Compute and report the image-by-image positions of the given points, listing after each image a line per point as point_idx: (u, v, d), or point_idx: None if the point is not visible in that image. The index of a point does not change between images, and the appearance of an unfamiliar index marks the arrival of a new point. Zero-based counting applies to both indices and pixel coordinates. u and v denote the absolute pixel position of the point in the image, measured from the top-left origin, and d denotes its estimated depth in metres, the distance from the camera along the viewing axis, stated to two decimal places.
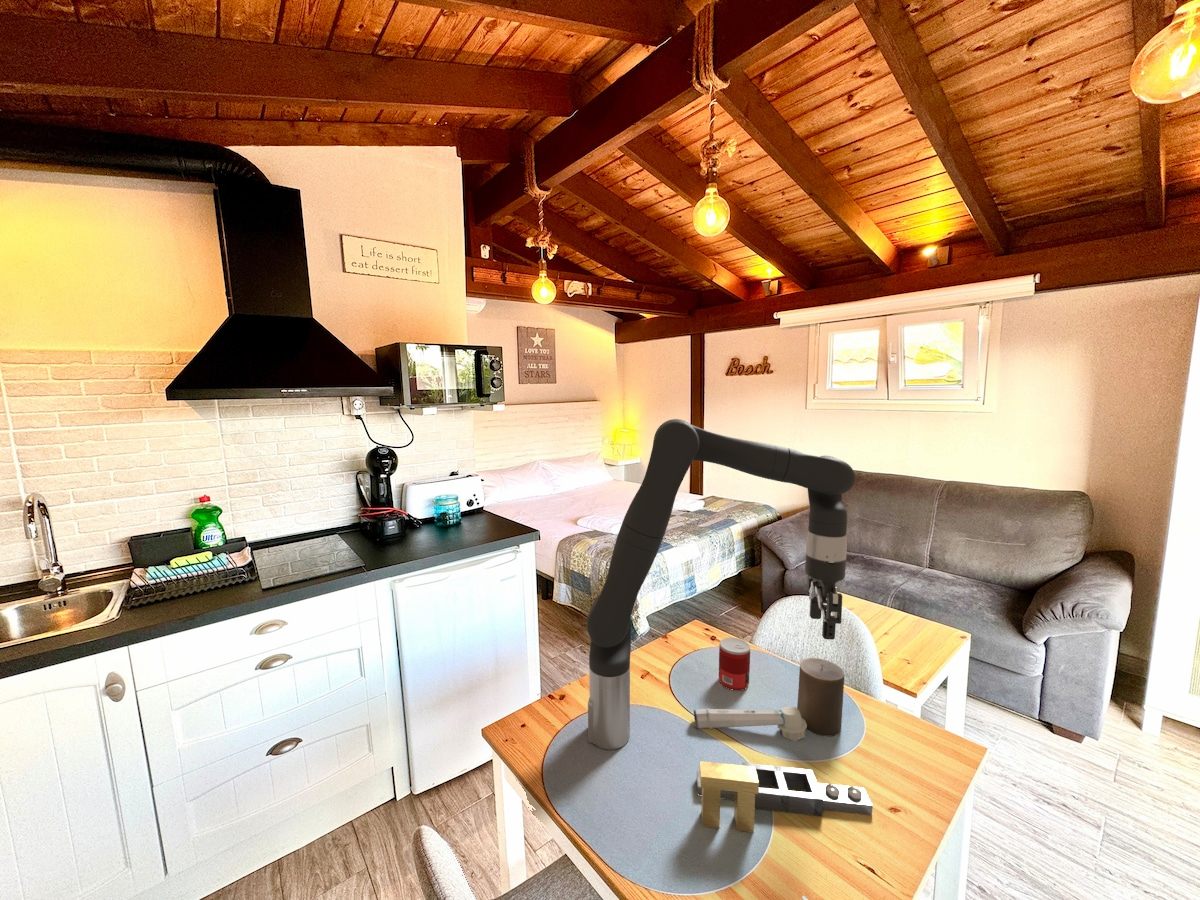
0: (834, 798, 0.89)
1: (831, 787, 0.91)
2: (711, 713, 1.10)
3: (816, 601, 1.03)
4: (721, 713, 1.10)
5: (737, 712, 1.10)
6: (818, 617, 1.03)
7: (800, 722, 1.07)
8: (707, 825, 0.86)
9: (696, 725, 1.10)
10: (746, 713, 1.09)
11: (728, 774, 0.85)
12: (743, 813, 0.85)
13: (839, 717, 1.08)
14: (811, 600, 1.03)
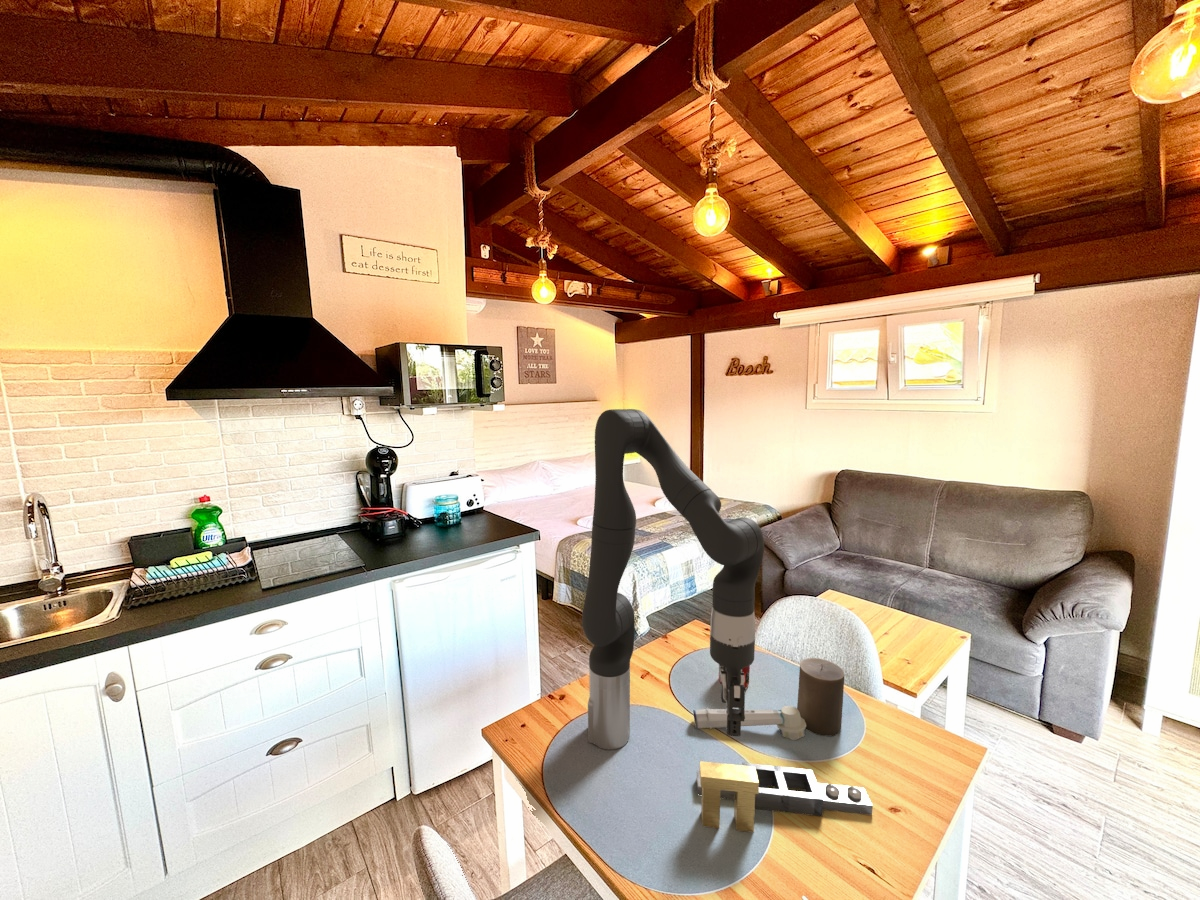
0: (834, 798, 0.89)
1: (831, 787, 0.91)
2: (711, 713, 1.10)
3: None
4: (721, 713, 1.10)
5: None
6: None
7: (799, 721, 1.08)
8: (707, 825, 0.86)
9: (696, 725, 1.10)
10: (746, 713, 1.09)
11: (728, 774, 0.85)
12: (743, 813, 0.85)
13: (839, 717, 1.08)
14: (722, 681, 0.88)
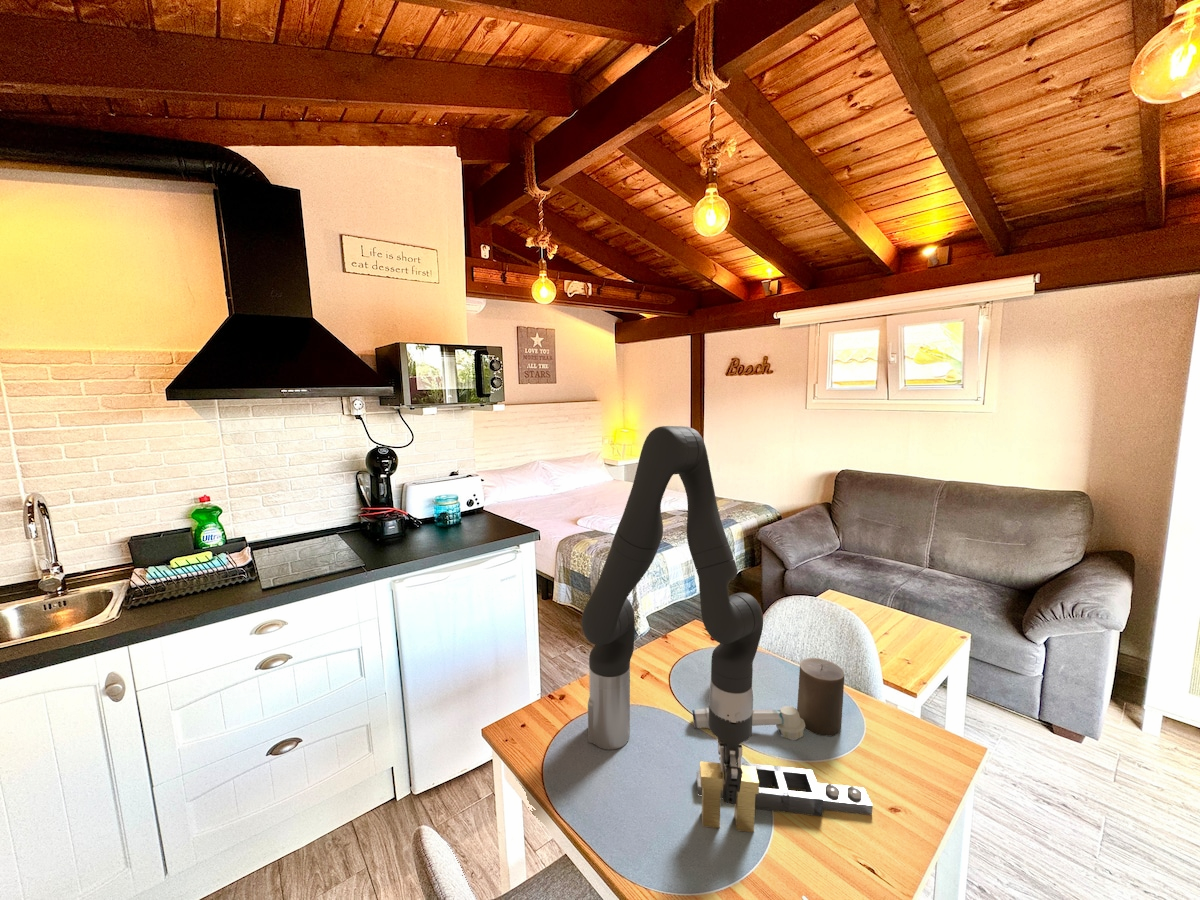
0: (834, 798, 0.89)
1: (831, 787, 0.91)
2: None
3: None
4: None
5: None
6: None
7: (799, 722, 1.07)
8: (707, 825, 0.86)
9: (695, 725, 1.10)
10: None
11: None
12: (743, 813, 0.85)
13: (839, 717, 1.08)
14: None
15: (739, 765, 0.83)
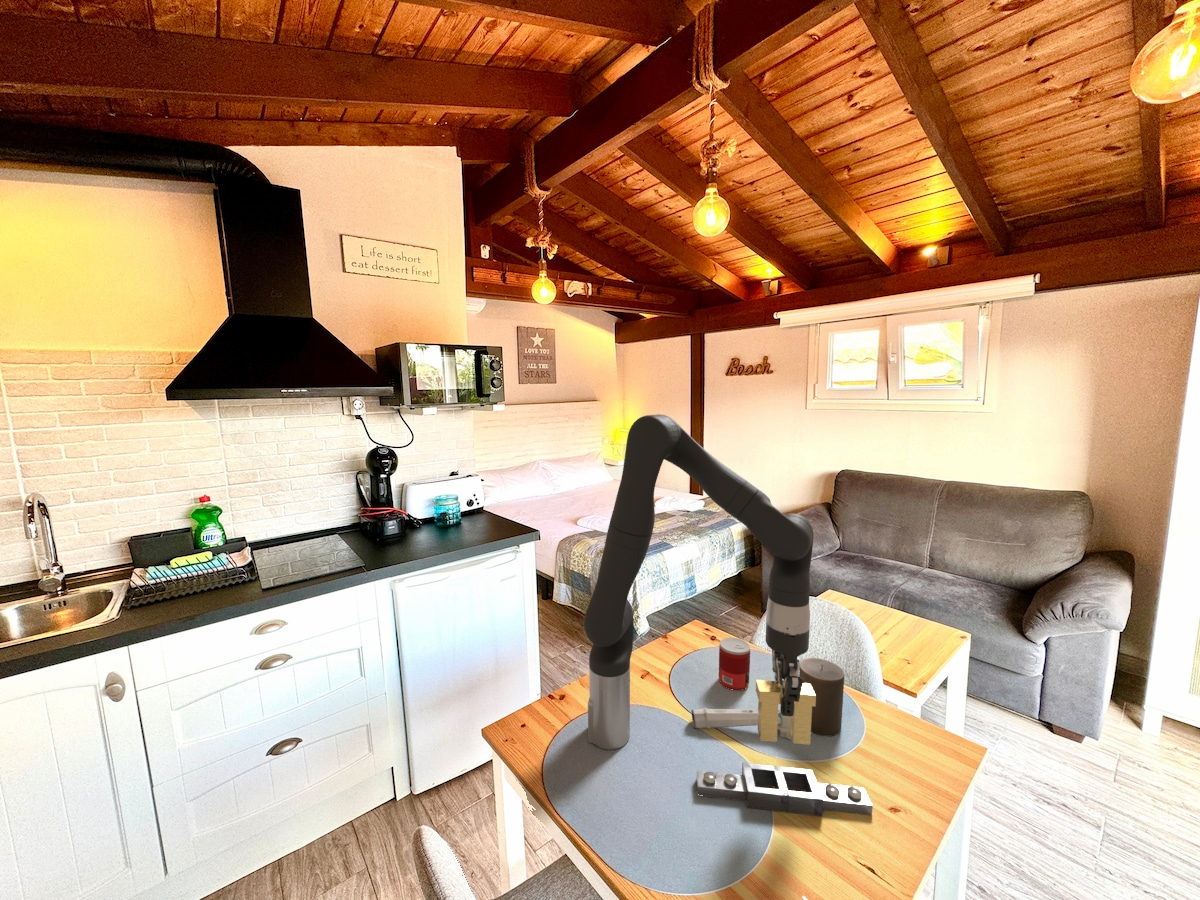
0: (834, 798, 0.89)
1: (831, 787, 0.91)
2: (709, 713, 1.10)
3: None
4: (719, 713, 1.10)
5: (735, 712, 1.10)
6: None
7: None
8: (765, 739, 0.90)
9: (694, 725, 1.10)
10: (744, 713, 1.10)
11: None
12: (800, 726, 0.88)
13: (839, 717, 1.08)
14: (777, 680, 0.92)
15: None
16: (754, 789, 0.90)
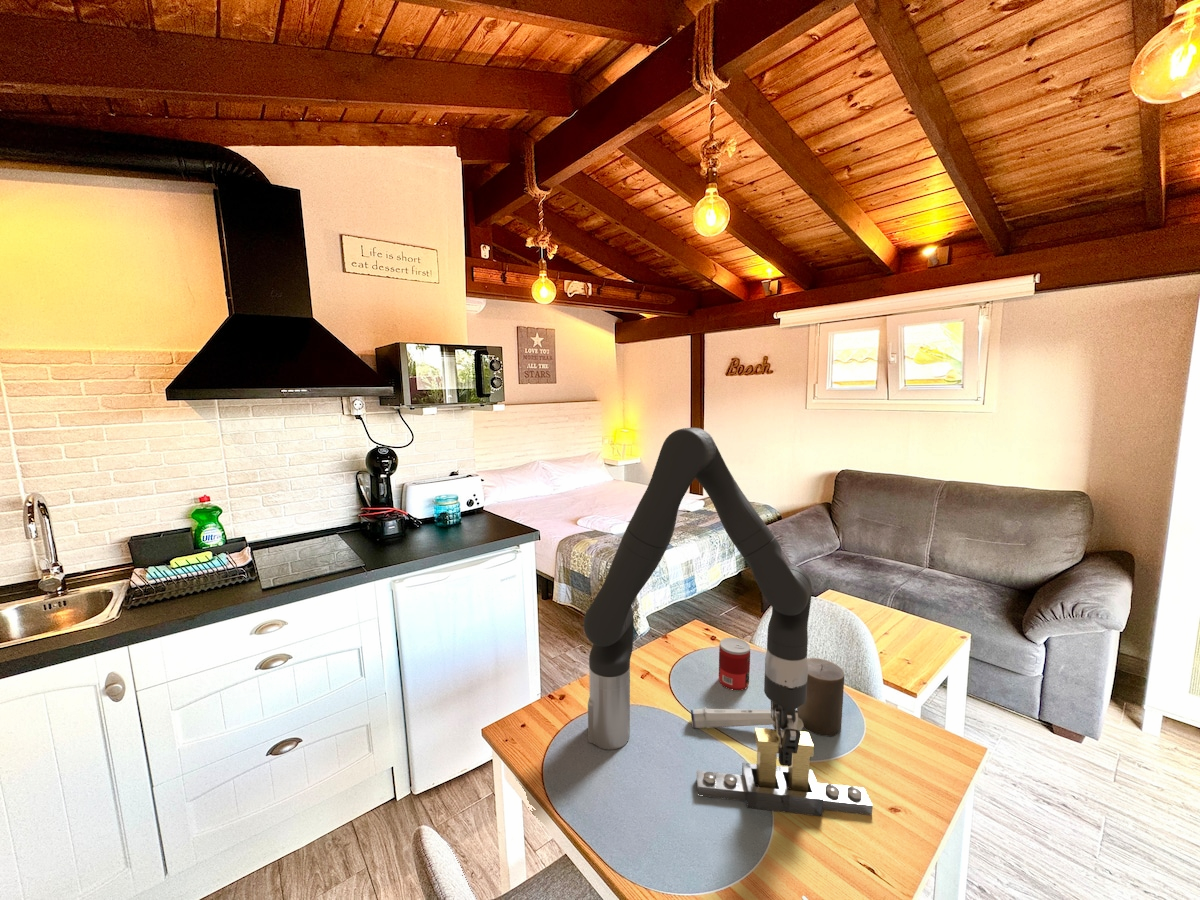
0: (834, 798, 0.89)
1: (831, 787, 0.91)
2: (708, 713, 1.11)
3: None
4: (718, 713, 1.10)
5: (734, 712, 1.10)
6: None
7: (797, 721, 1.08)
8: (763, 787, 0.91)
9: (693, 725, 1.10)
10: (743, 713, 1.10)
11: None
12: (798, 775, 0.90)
13: (839, 717, 1.08)
14: (775, 728, 0.93)
15: (795, 729, 0.88)
16: (754, 789, 0.90)
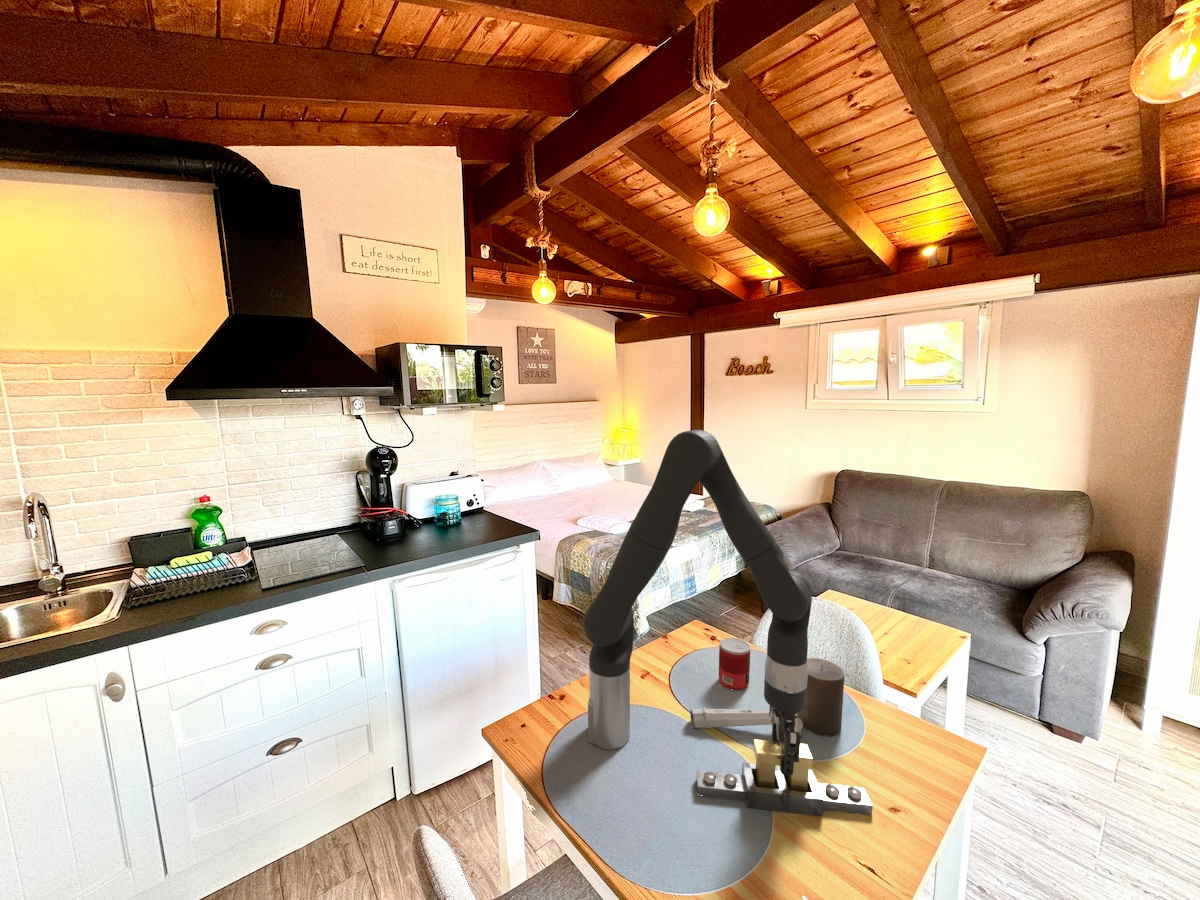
0: (834, 798, 0.89)
1: (831, 787, 0.91)
2: (707, 713, 1.11)
3: None
4: (717, 713, 1.10)
5: (733, 712, 1.10)
6: None
7: None
8: None
9: (692, 725, 1.10)
10: (742, 713, 1.10)
11: None
12: (797, 787, 0.90)
13: (839, 717, 1.08)
14: (773, 725, 0.94)
15: None
16: (754, 789, 0.90)
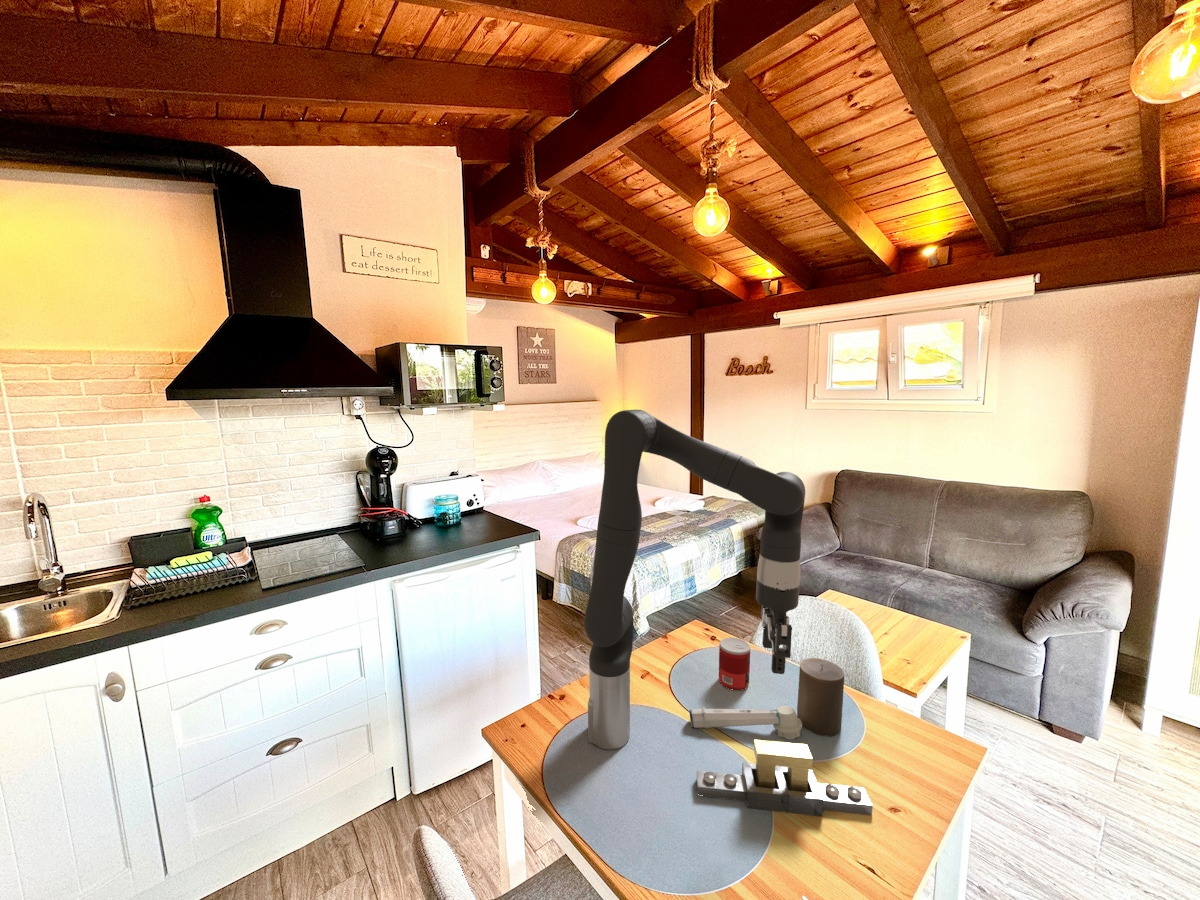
0: (834, 798, 0.89)
1: (831, 787, 0.91)
2: (707, 713, 1.11)
3: None
4: (717, 713, 1.10)
5: (733, 712, 1.10)
6: (771, 646, 0.94)
7: (795, 721, 1.08)
8: None
9: (692, 725, 1.10)
10: (742, 713, 1.10)
11: (783, 751, 0.90)
12: (797, 787, 0.90)
13: (839, 717, 1.08)
14: None
15: None
16: (754, 789, 0.90)
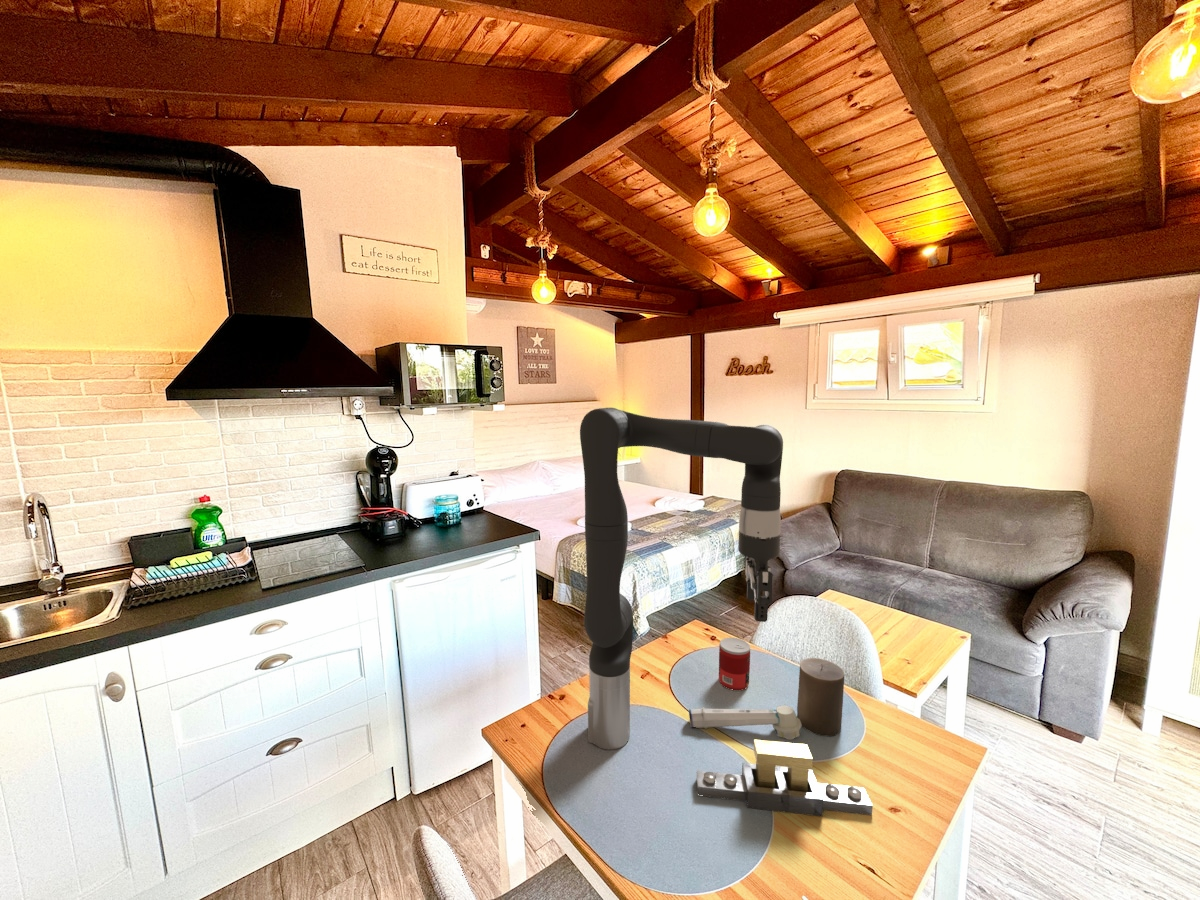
0: (834, 798, 0.89)
1: (831, 787, 0.91)
2: (706, 713, 1.11)
3: None
4: (716, 713, 1.10)
5: (732, 712, 1.10)
6: (755, 599, 0.96)
7: (795, 721, 1.08)
8: None
9: (691, 725, 1.10)
10: (741, 712, 1.10)
11: (783, 751, 0.90)
12: (797, 787, 0.90)
13: (839, 717, 1.08)
14: (748, 581, 0.96)
15: None
16: (754, 789, 0.90)
